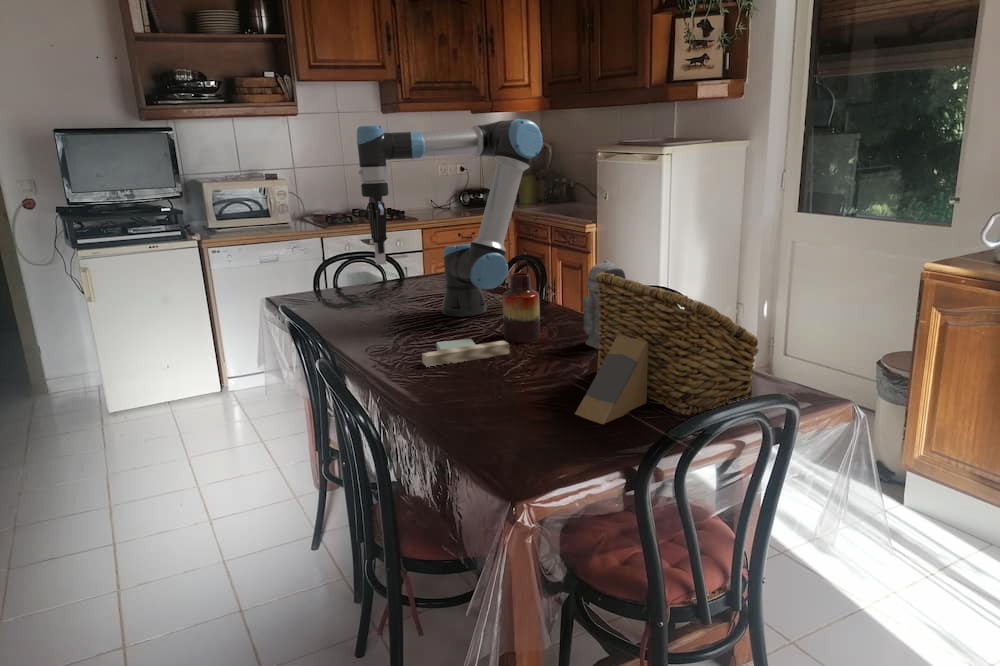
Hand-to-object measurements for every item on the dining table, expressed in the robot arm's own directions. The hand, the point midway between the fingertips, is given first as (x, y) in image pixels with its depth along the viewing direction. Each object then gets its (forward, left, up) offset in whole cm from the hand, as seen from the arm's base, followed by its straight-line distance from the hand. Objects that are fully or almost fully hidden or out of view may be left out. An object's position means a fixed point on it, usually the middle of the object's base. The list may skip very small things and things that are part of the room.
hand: (380, 264), depth 209 cm
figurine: (-54, +36, -25) cm, 70 cm away
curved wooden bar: (-14, +30, -24) cm, 41 cm away
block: (-14, +23, -25) cm, 37 cm away
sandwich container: (-28, +79, -25) cm, 88 cm away
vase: (-36, +19, -25) cm, 48 cm away
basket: (-51, +74, -25) cm, 93 cm away
